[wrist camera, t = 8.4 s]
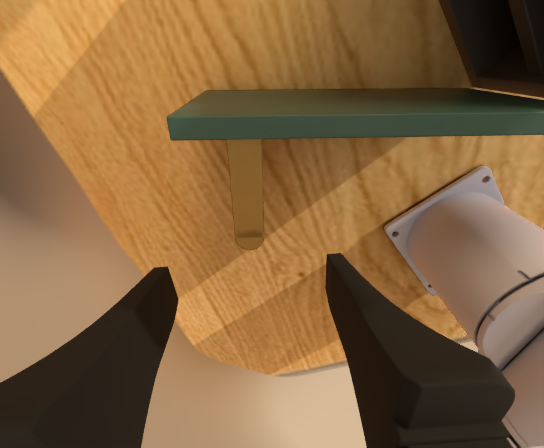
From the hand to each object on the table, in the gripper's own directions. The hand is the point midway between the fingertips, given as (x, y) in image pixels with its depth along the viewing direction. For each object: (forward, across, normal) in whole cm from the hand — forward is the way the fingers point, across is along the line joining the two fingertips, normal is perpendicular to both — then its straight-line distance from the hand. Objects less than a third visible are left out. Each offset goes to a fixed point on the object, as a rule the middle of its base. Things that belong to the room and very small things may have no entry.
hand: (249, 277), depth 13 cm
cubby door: (+8, -6, -3) cm, 11 cm away
